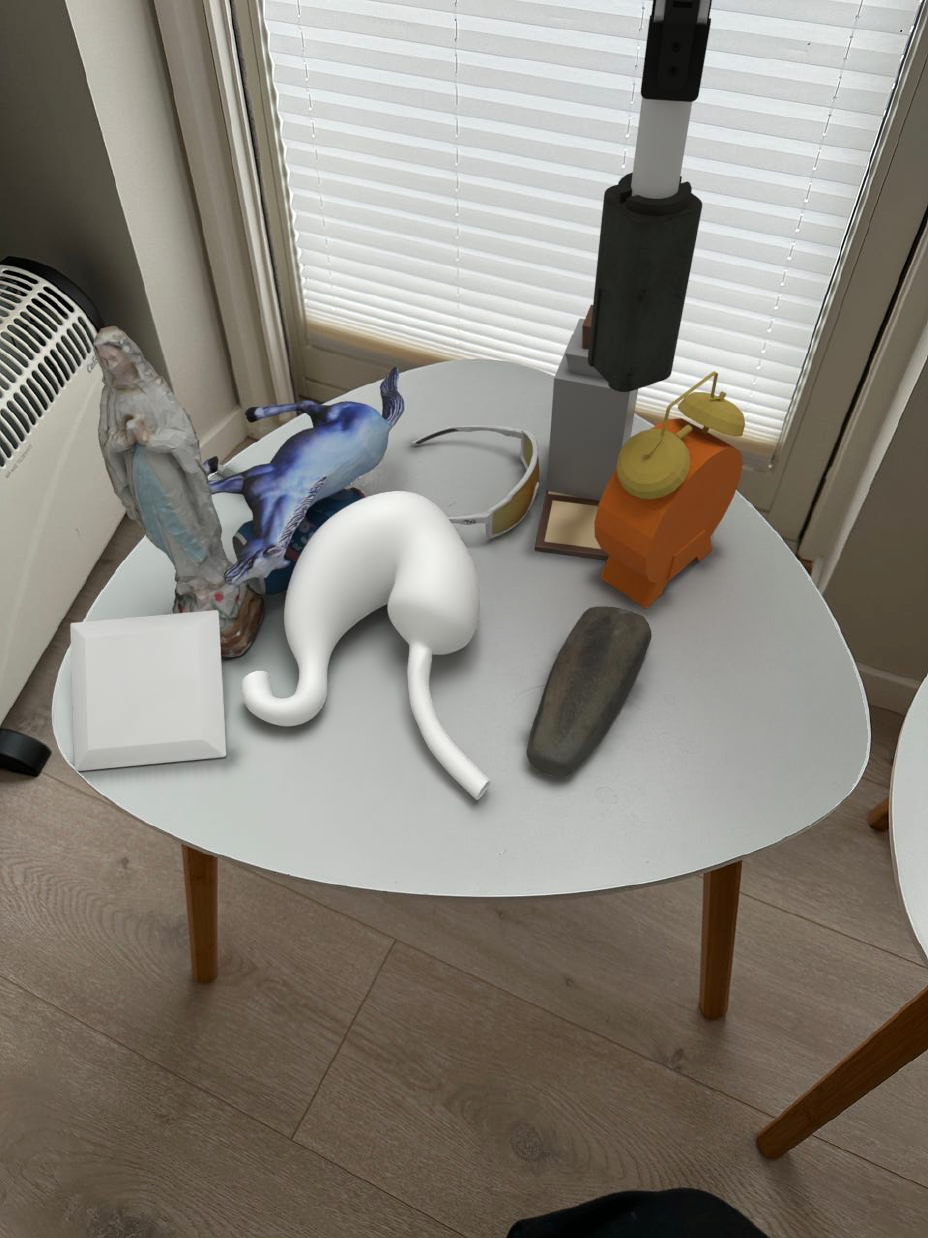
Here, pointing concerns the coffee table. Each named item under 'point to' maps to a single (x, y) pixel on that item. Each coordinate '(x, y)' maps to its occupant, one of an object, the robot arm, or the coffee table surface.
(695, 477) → the alarm clock
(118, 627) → the white chamfered tile
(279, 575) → the soda can
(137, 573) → the coffee table surface
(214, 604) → the statue
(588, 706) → the decorative stone
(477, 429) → the sunglasses
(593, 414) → the perfume bottle
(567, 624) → the coffee table surface
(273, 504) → the toy
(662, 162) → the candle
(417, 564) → the stomach
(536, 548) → the brown picture frame
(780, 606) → the coffee table surface
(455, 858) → the coffee table surface
